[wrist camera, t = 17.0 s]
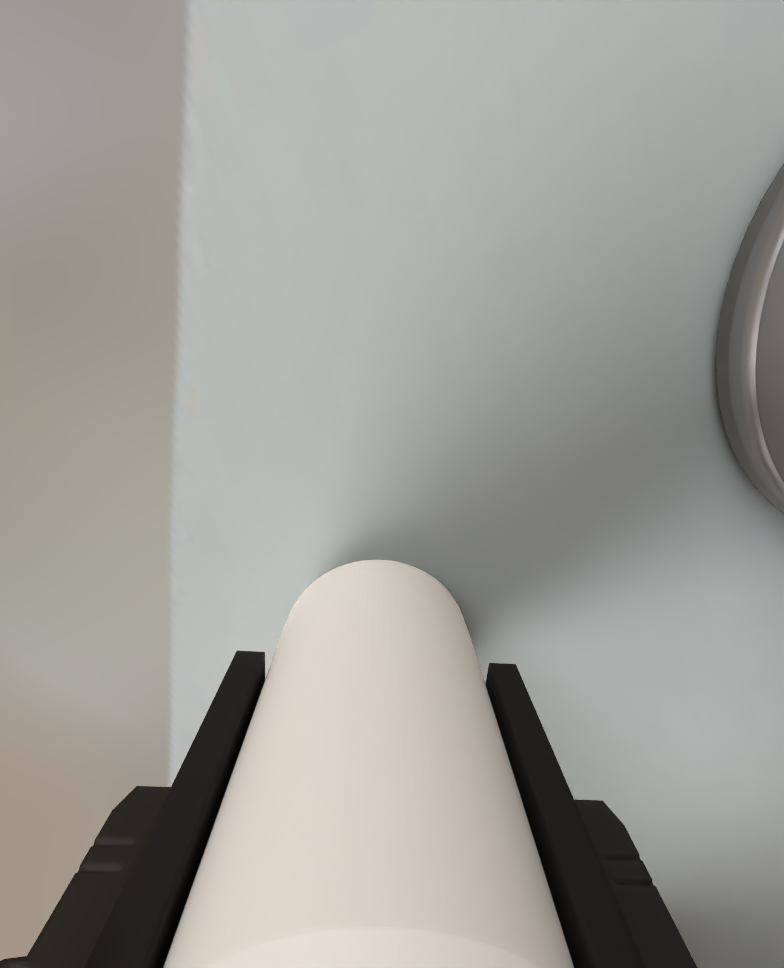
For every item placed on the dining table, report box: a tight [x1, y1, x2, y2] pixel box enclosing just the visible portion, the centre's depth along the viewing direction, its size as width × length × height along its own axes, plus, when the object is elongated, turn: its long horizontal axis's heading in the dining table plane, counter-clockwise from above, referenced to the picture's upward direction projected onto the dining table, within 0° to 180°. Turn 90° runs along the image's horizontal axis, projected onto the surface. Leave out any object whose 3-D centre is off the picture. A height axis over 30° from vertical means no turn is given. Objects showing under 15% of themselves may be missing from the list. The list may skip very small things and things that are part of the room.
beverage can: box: [163, 560, 574, 968], centre depth 10 cm, size 6×6×12 cm
